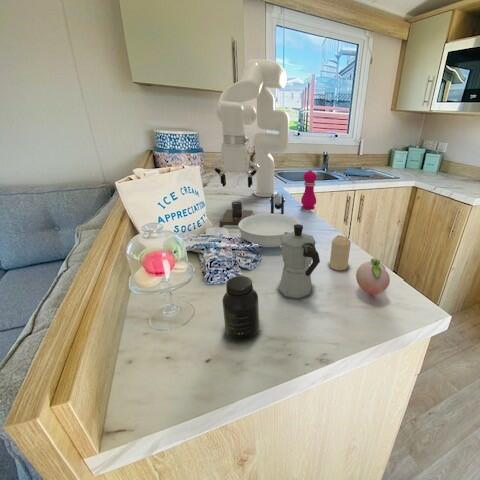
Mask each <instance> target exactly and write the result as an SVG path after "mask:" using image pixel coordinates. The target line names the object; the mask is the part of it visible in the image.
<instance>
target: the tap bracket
mask: <svg viewBox="0 0 480 480" xmlns="http://www.w3.org/2000/svg"><path fill="white" fill-rule="evenodd" d="M269 202H270V213H272V214H275V206H274V205H275V196H274V194H271V197H269ZM280 203H281V209H280V214H282V215H285V213H284V212H285V203H286V198H285V194H281V196H280Z"/></svg>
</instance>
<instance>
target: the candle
mask: <svg viewBox="0 0 480 480" xmlns="http://www.w3.org/2000/svg"><path fill="white" fill-rule="evenodd" d="M330 248H331V249H330V258H329V267H330V268H331V269H333V270H335V271H344V270H347V268H348V264H349V258H350V252H351V240H350V239H349V238H348V236H343V235H340V234H338V235H336V236H335V237H334V238H332V240H331V247H330Z"/></svg>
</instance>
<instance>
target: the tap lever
mask: <svg viewBox="0 0 480 480" xmlns="http://www.w3.org/2000/svg"><path fill="white" fill-rule="evenodd" d="M274 209H276V210H281V196H278V195H276V196H274Z"/></svg>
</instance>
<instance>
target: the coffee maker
mask: <svg viewBox="0 0 480 480" xmlns="http://www.w3.org/2000/svg"><path fill="white" fill-rule="evenodd" d="M303 231H304V226H303V224H301V223H300V224H296V225H294V232H295V233H288V232H284V235H283V236H281V237H280V239H281V246H280V247H281V252H282V253H281V254H282V261H283V268H282V273H281V279H280V283H279V288H278V290H279V292H280V293H281V294H282V295H283V297H285V298H291V299H298V300H299V299H301V298H304V297H307V296H309V295H311V291H312V286H313V285H312V278H311V275H312V273H313V272H314V271H315V269H316V268H317V266H318V265H319V264H320V262H321V260H320V254H319V252H318V250H317V247H316V240H315V238H314V236H313V235H312V234H308V233H305V232H303Z"/></svg>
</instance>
